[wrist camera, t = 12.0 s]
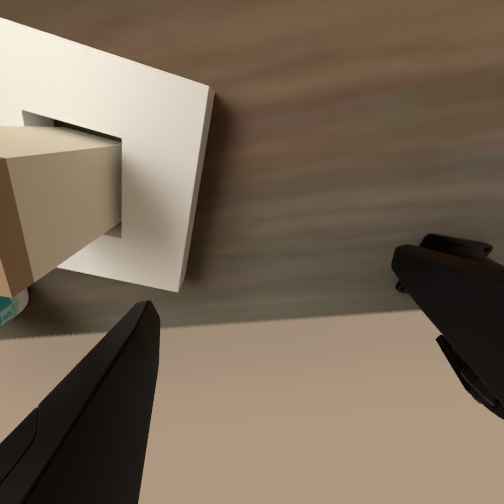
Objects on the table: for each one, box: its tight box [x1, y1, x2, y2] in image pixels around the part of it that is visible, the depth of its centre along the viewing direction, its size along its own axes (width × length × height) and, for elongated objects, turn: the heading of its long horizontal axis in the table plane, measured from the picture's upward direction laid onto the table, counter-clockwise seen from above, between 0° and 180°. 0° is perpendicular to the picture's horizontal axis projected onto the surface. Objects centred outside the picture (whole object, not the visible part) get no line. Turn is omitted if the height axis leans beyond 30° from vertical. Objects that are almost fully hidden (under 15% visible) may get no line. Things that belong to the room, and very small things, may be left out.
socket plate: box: [0, 18, 215, 292], centre depth 17 cm, size 16×16×2 cm
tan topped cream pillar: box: [0, 126, 122, 298], centre depth 14 cm, size 4×6×11 cm
